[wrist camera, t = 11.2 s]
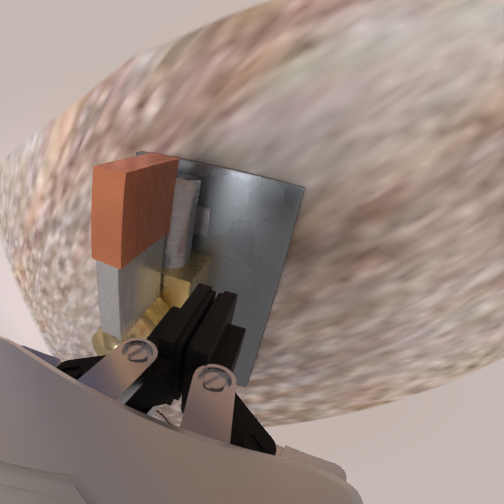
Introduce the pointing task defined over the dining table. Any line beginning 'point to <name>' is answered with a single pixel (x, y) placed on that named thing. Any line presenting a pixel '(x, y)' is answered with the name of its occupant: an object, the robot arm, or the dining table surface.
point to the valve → (229, 244)
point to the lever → (130, 244)
